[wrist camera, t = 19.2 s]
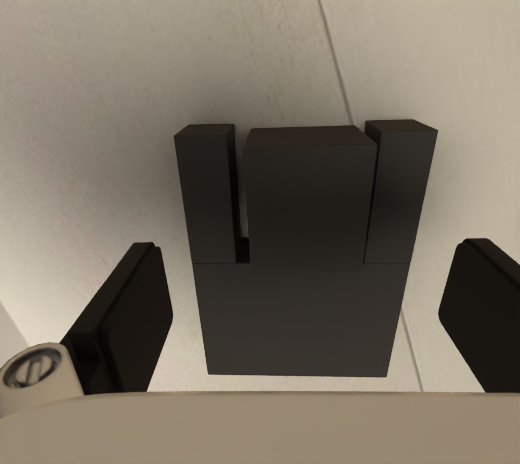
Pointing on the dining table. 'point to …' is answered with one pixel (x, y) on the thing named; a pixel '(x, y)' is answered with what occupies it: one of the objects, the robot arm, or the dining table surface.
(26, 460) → the robot arm
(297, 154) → the dark grey square block
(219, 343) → the forked base block
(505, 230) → the dining table surface
